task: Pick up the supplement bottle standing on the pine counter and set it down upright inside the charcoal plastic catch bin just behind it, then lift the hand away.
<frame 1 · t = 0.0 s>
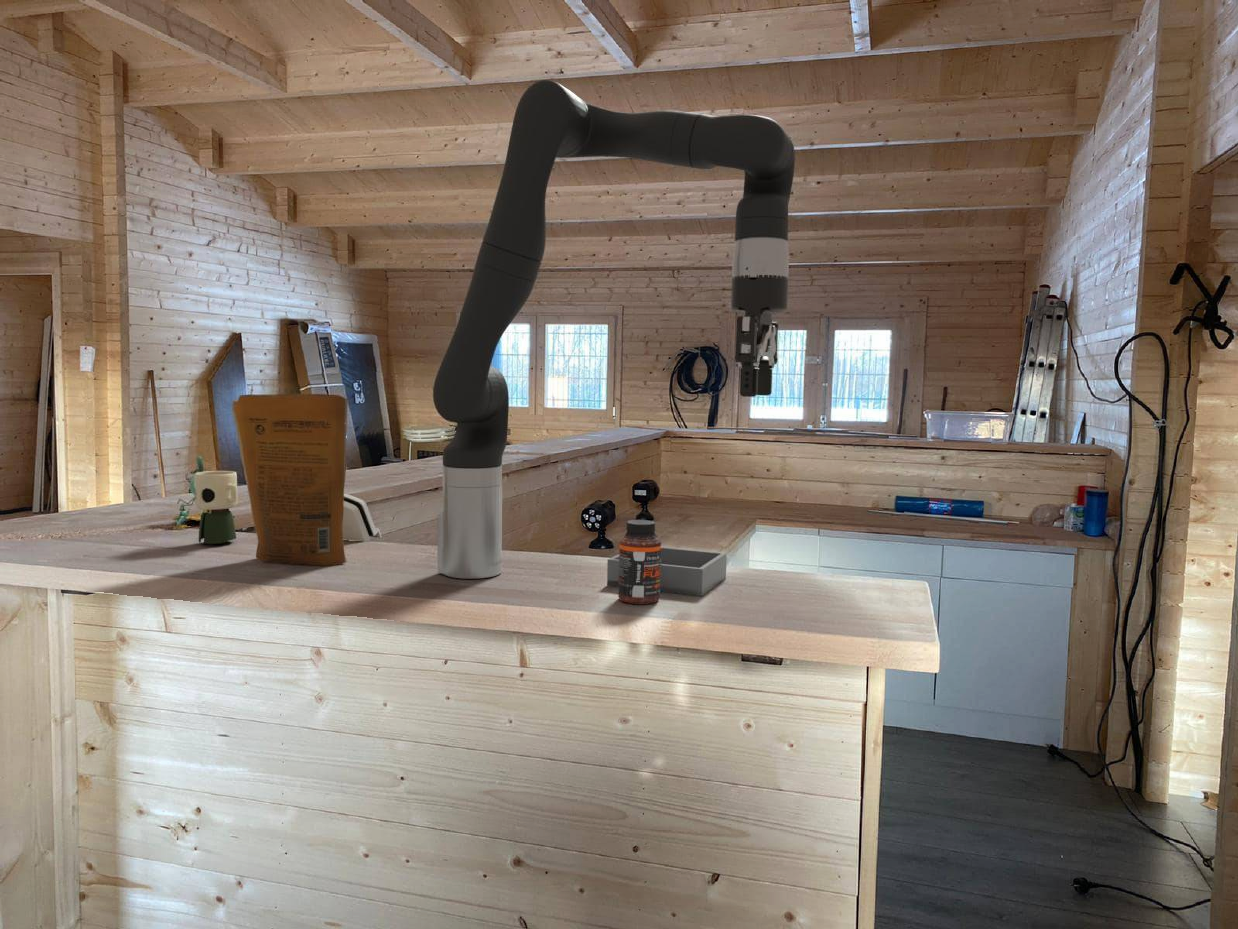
hand: (756, 395, 120), 29 cm above the countertop, fingers open, 8 cm apart
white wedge: (334, 538, 169), on the countertop
character mug: (217, 544, 161), on the countertop
pancake mix bag: (297, 563, 146), on the countertop
frog figurine: (199, 524, 182), on the countertop
catch bin: (667, 581, 137), on the countertop
supplement bottle: (638, 601, 125), on the countertop
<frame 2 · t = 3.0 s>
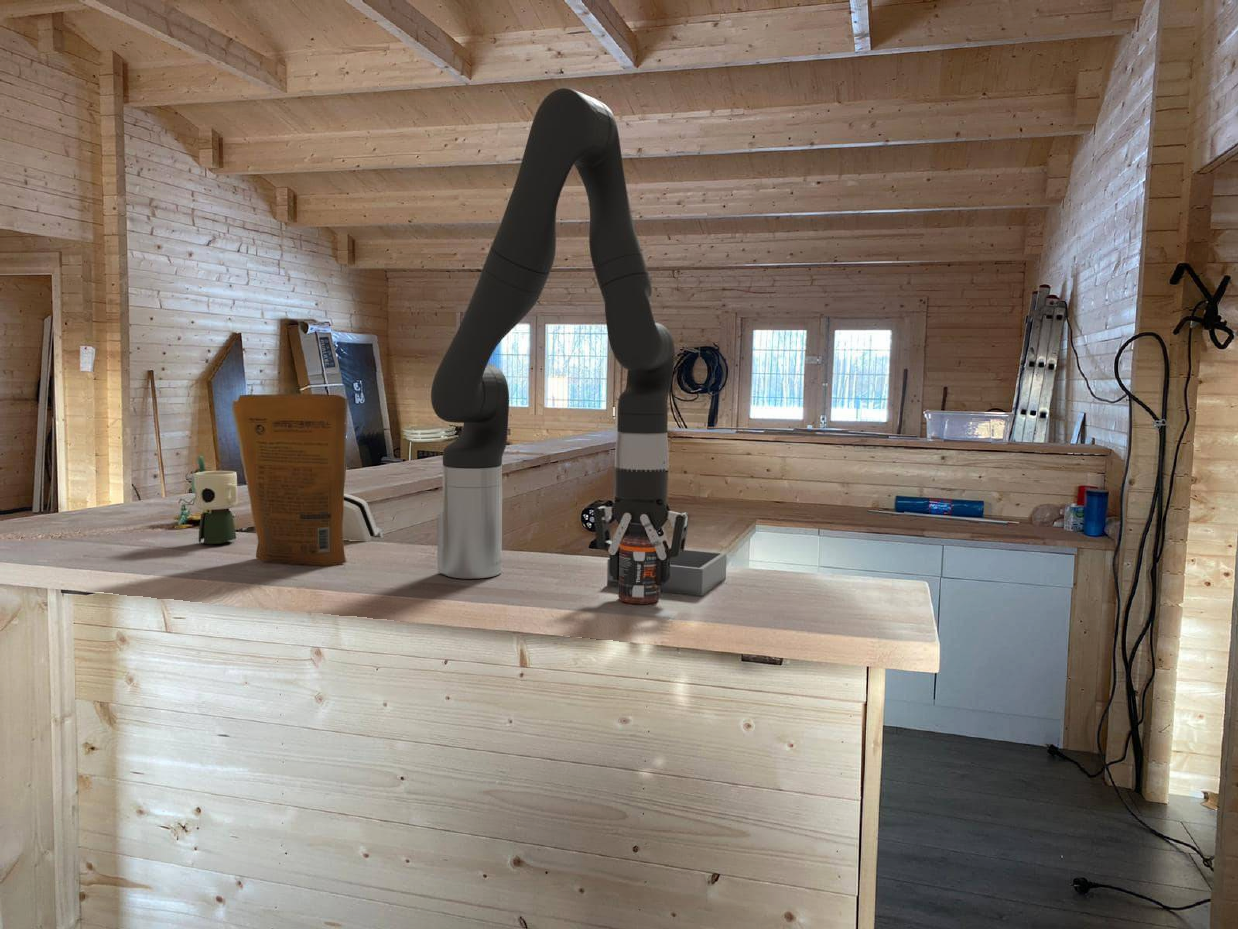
hand: (639, 581, 125), 3 cm above the countertop, fingers closed on supplement bottle, 6 cm apart
supplement bottle: (638, 601, 125), on the countertop, touching gripper
everything else where it was.
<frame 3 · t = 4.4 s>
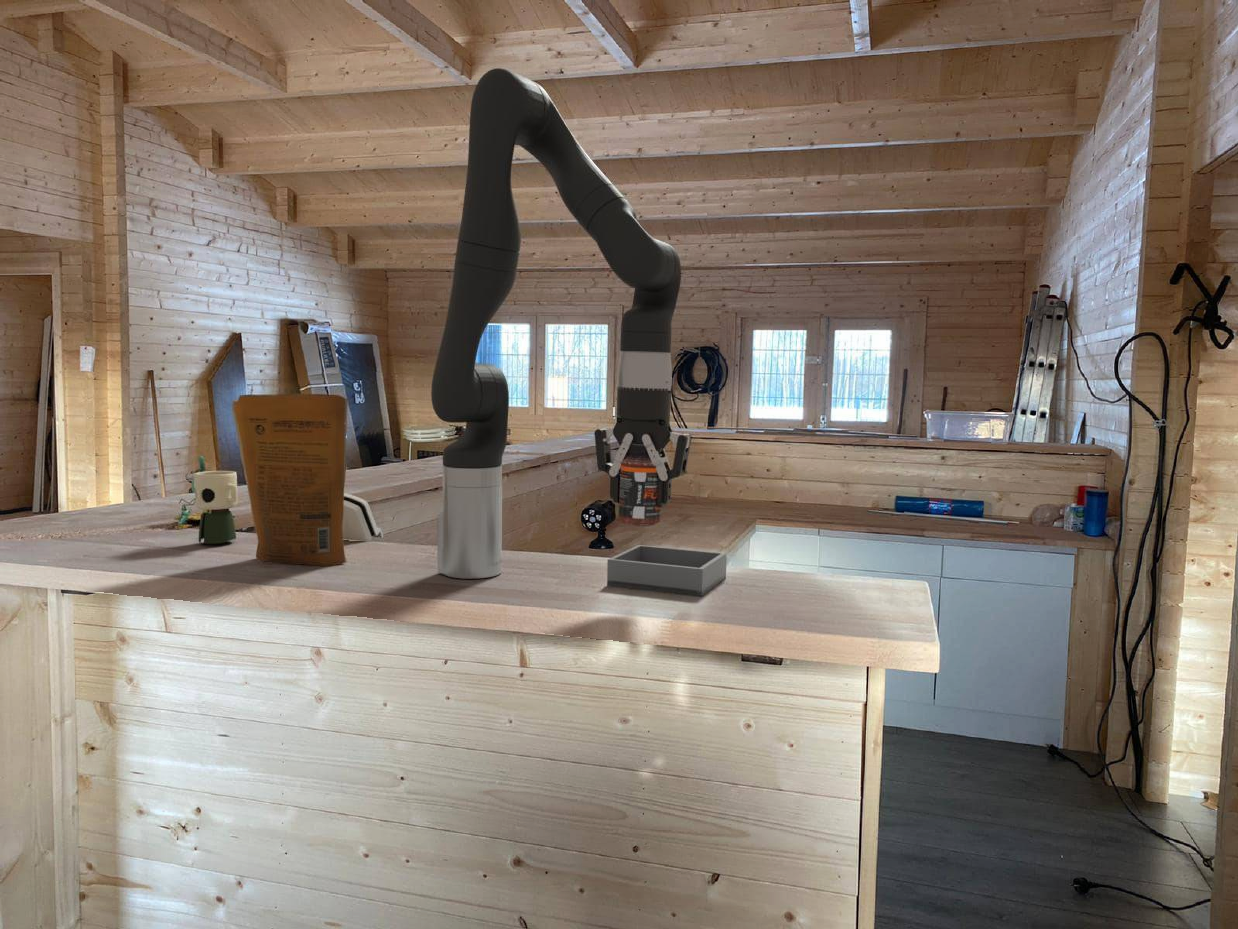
hand: (639, 504, 124), 14 cm above the countertop, fingers closed on supplement bottle, 6 cm apart
supplement bottle: (639, 524, 125), point 11 cm above the countertop, touching gripper
everything else where it was.
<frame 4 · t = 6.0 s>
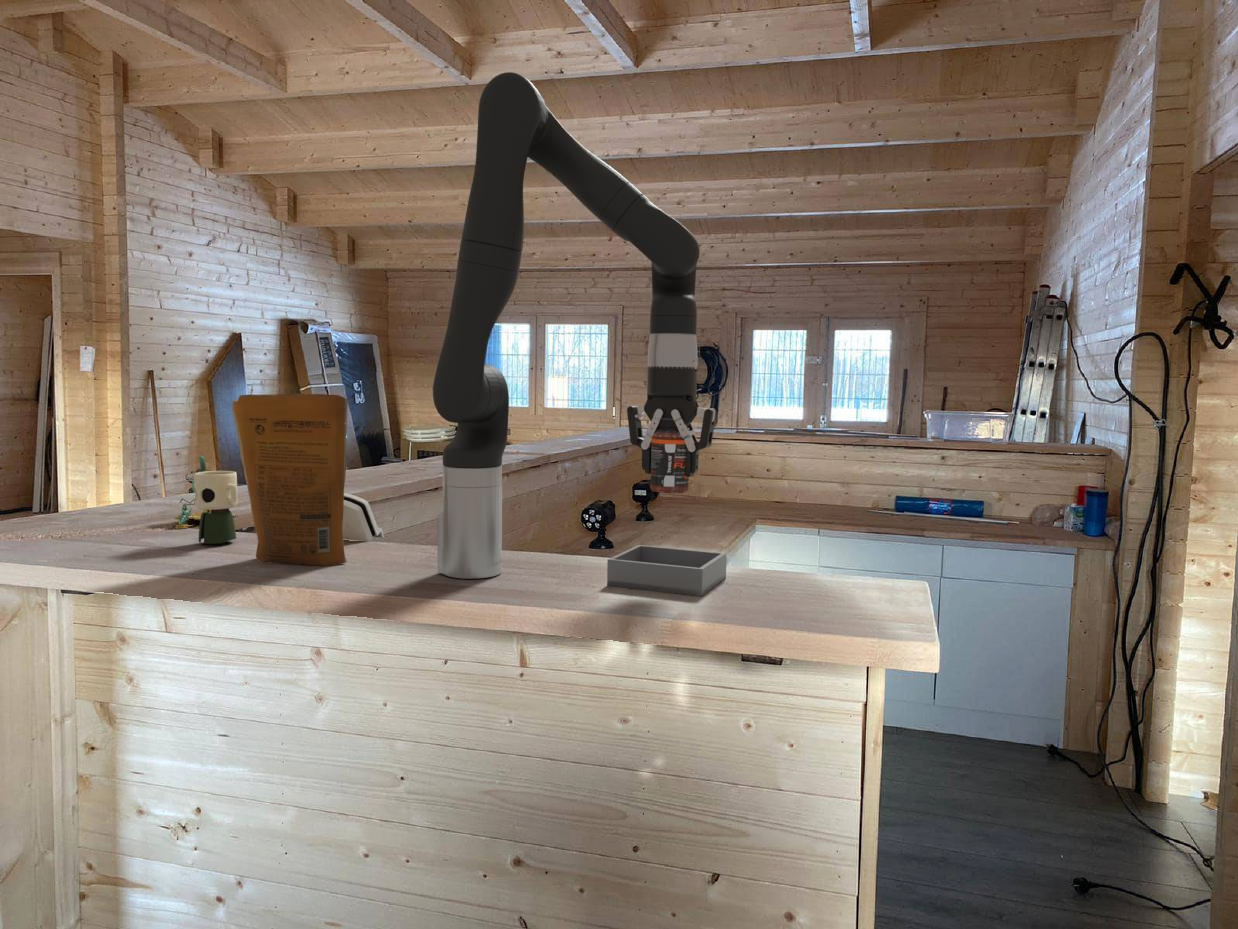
hand: (669, 474, 135), 17 cm above the countertop, fingers closed on supplement bottle, 6 cm apart
supplement bottle: (669, 493, 135), point 14 cm above the countertop, touching gripper
everything else where it was.
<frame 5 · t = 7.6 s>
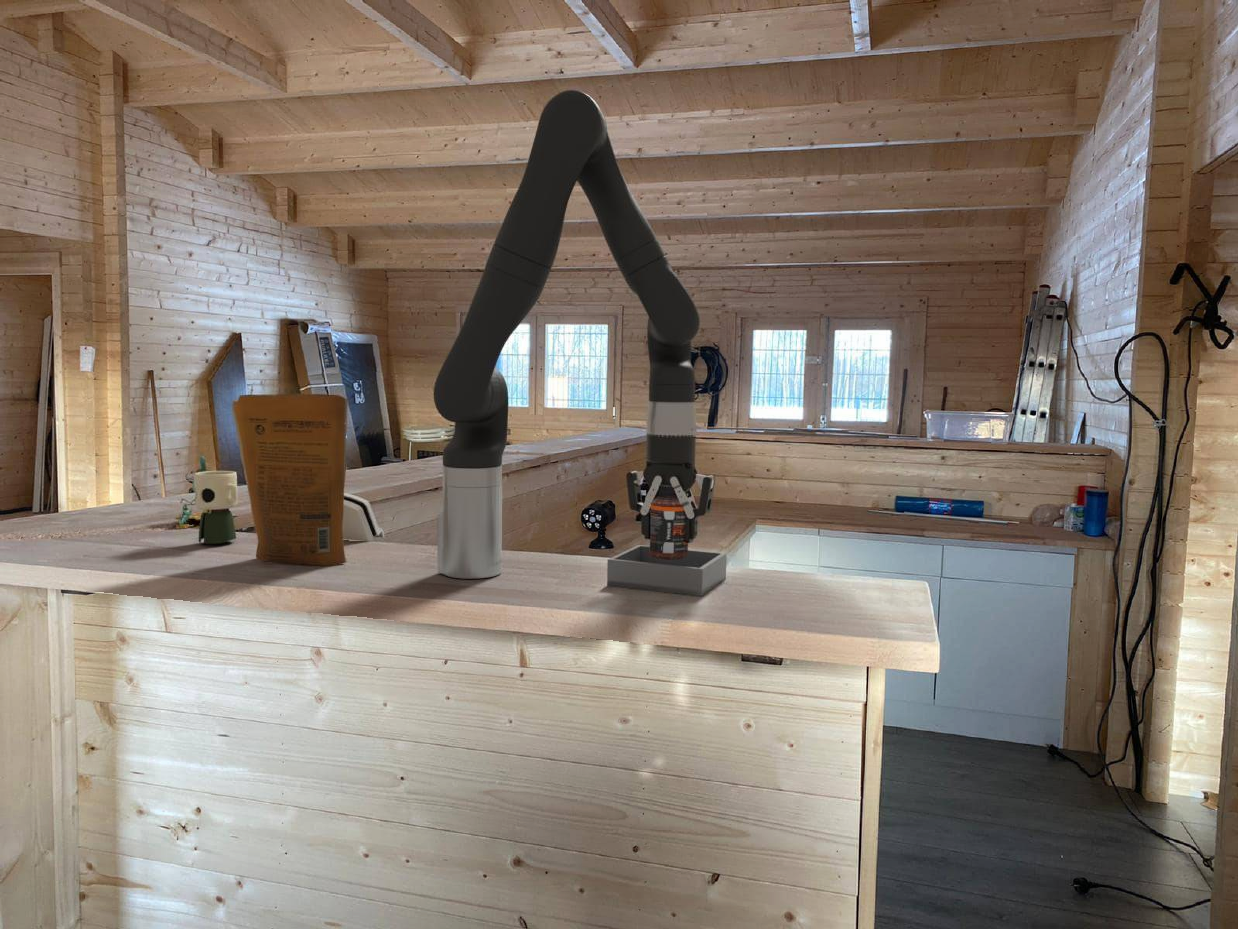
hand: (669, 539, 136), 7 cm above the countertop, fingers closed on supplement bottle, 6 cm apart
supplement bottle: (668, 558, 136), point 4 cm above the countertop, touching gripper
everything else where it was.
when the fingers open (5 cm above the countertop, at t = 8.9 s): supplement bottle drops 1 cm, resting on catch bin.
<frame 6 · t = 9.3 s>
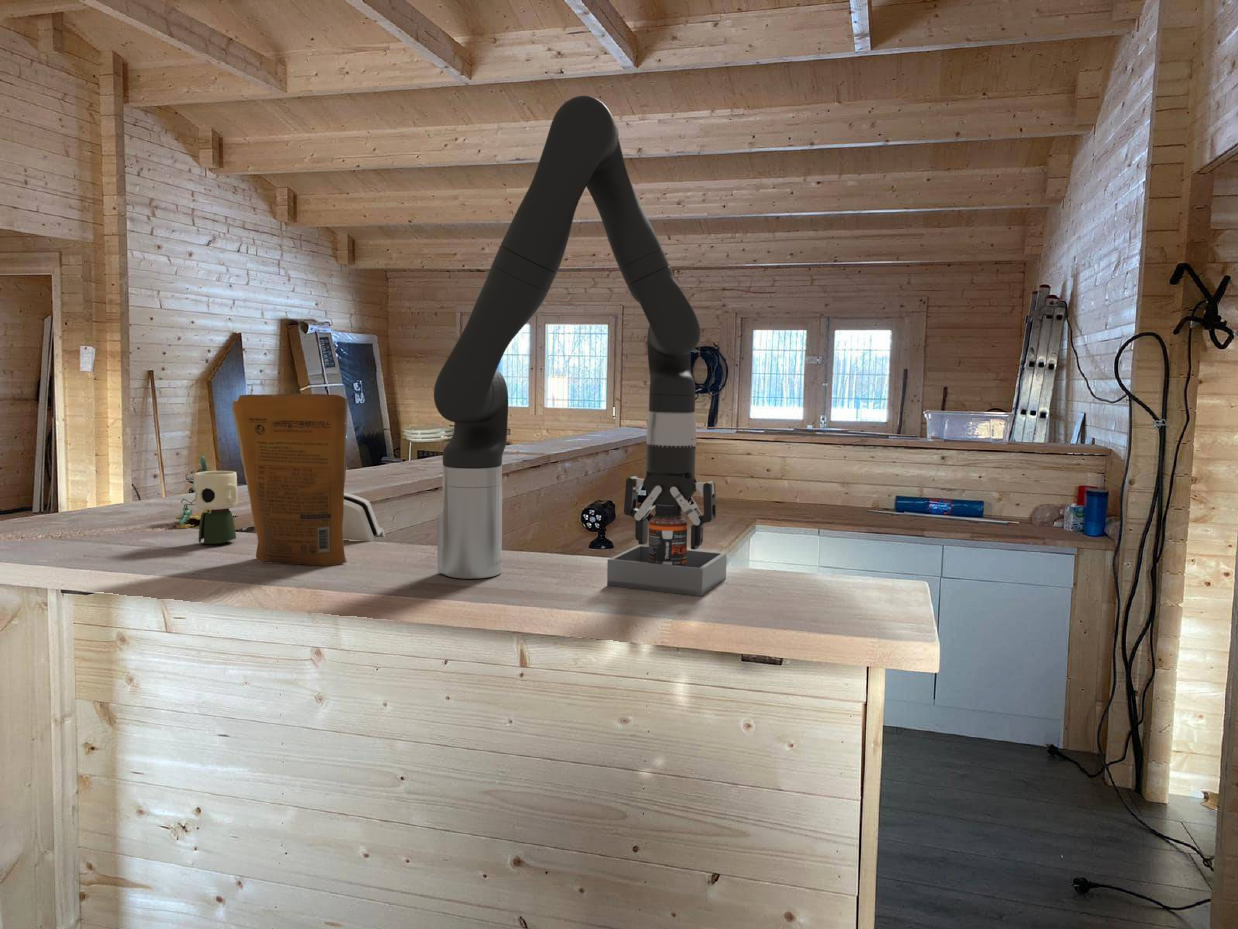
hand: (668, 546, 136), 6 cm above the countertop, fingers open, 8 cm apart
supplement bottle: (667, 577, 137), point 1 cm above the countertop, touching catch bin
everything else where it was.
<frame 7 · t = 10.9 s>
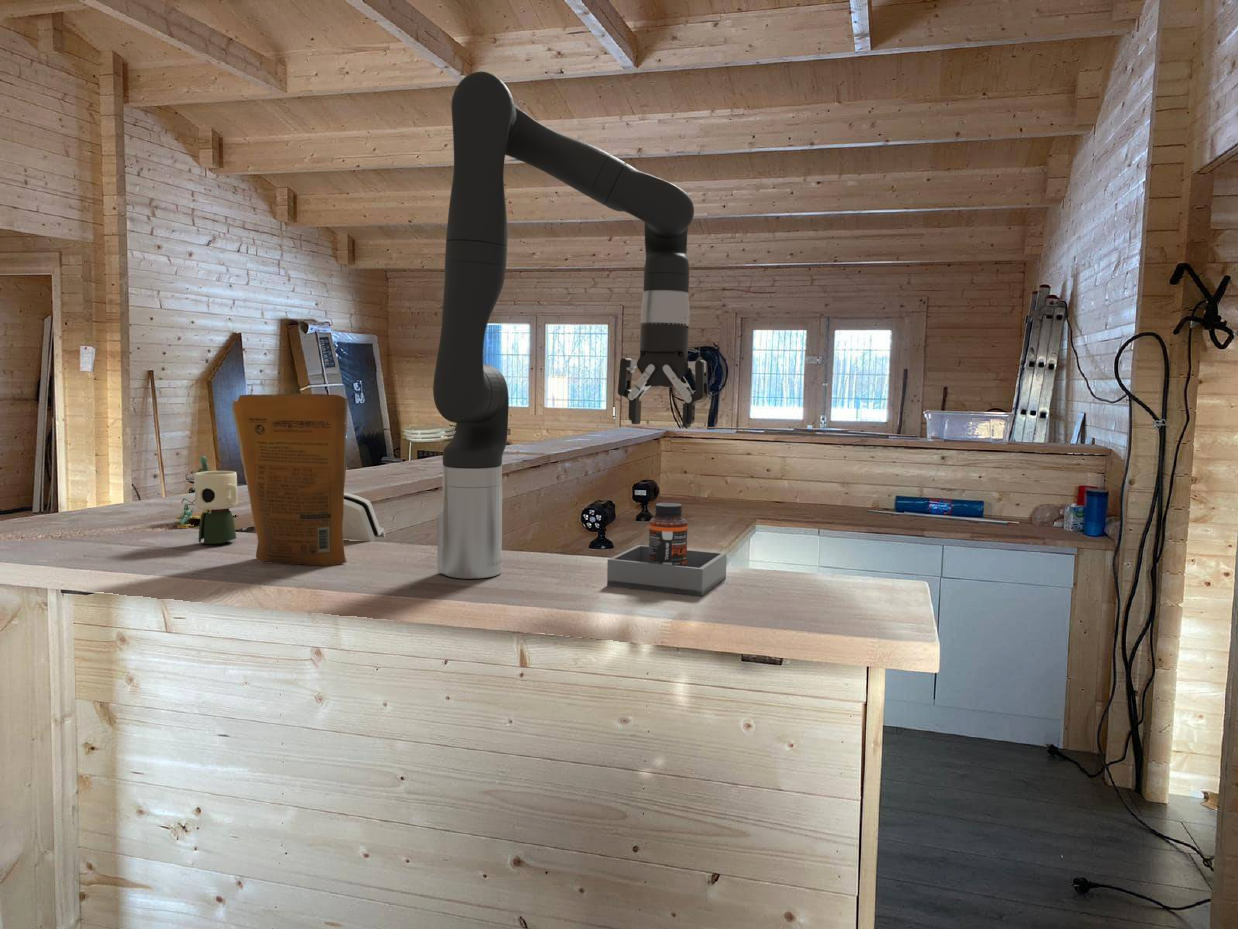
hand: (661, 425, 139), 24 cm above the countertop, fingers open, 8 cm apart
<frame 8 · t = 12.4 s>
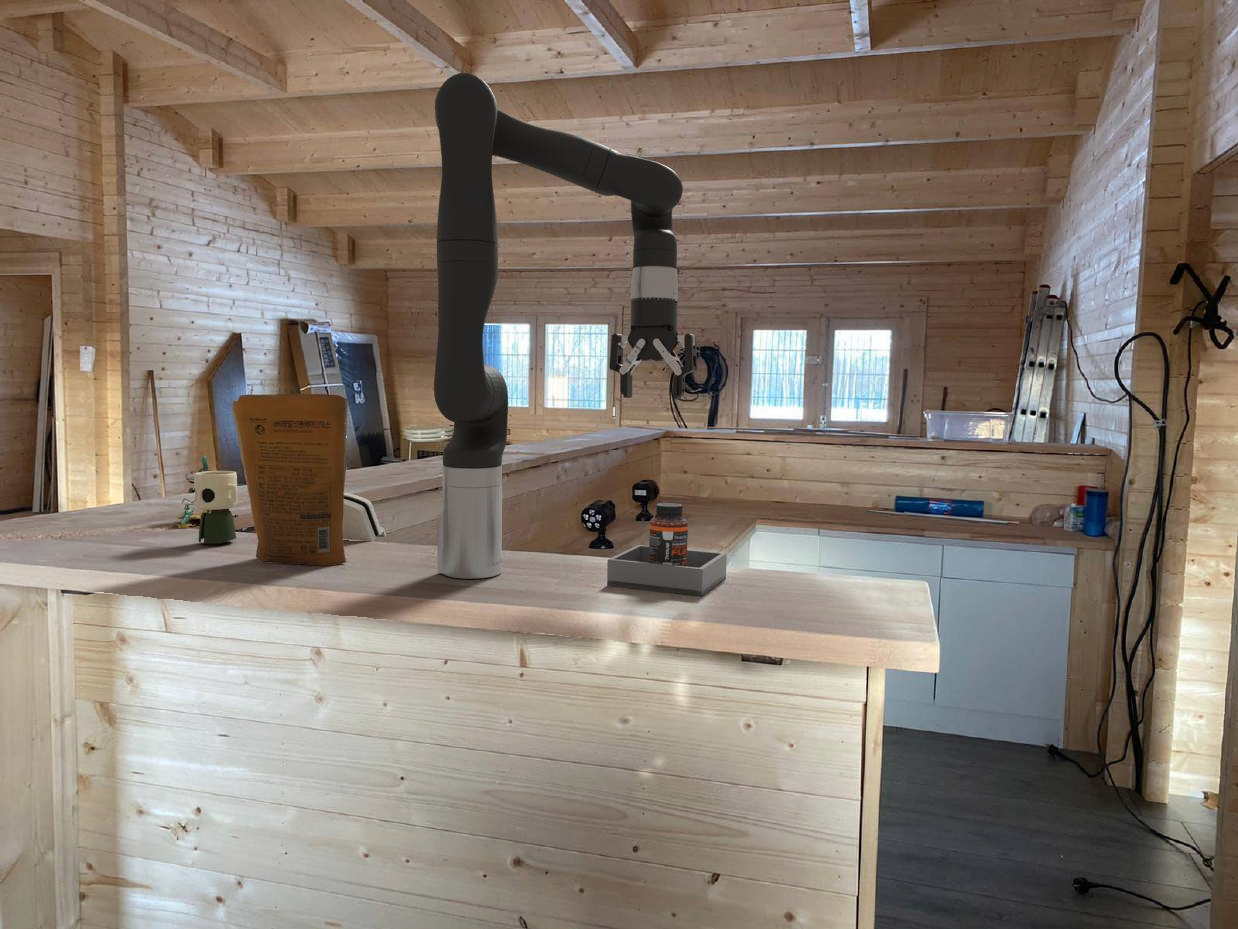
hand: (652, 398, 143), 28 cm above the countertop, fingers open, 8 cm apart
at the end: supplement bottle inside the target area on the catch bin (0.1 cm from its centre), point 0.6 cm above the catch bin's base; supplement bottle tilted 0°; the gripper is holding nothing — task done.
